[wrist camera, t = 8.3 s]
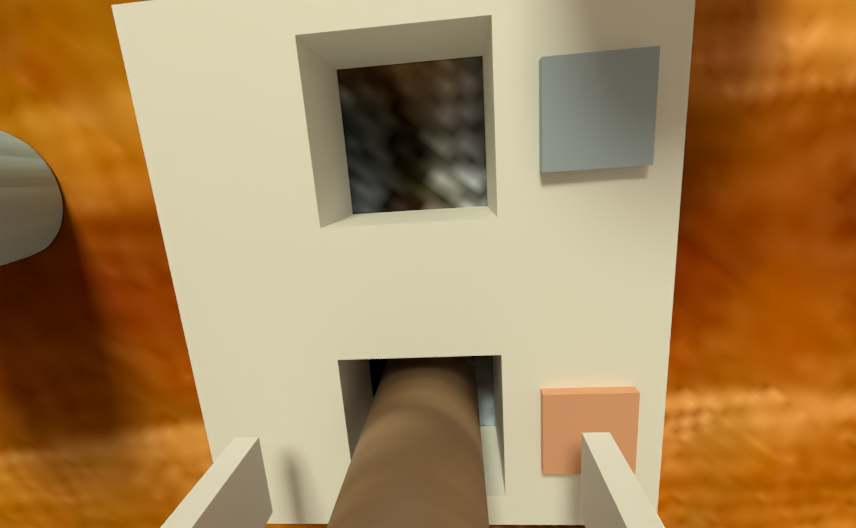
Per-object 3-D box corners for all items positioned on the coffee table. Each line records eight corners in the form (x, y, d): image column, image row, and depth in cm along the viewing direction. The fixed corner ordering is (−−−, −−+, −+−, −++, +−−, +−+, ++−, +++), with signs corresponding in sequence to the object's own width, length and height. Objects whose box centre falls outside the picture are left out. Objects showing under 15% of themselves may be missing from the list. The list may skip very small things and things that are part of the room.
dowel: (390, 413, 18) (275, 836, 7) (381, 333, 17) (232, 660, 6) (477, 412, 18) (514, 853, 6) (472, 329, 17) (508, 669, 5)
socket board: (272, 452, 19) (220, 532, 15) (199, 46, 15) (99, -1, 11) (613, 448, 18) (661, 535, 14) (632, 2, 14) (709, -72, 10)
